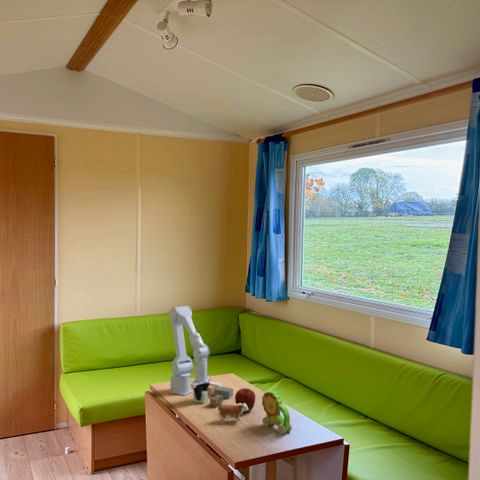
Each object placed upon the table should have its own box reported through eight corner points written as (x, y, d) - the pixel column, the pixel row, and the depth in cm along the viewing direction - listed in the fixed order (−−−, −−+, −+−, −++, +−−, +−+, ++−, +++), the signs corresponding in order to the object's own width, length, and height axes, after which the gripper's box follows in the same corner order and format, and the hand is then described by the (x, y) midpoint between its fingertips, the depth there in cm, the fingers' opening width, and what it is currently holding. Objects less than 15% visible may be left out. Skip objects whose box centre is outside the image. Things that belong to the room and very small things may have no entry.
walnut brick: (216, 408, 234) (216, 399, 234) (210, 406, 235) (210, 398, 235) (222, 404, 239) (222, 395, 239) (216, 402, 241) (216, 394, 241)
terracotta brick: (200, 393, 253) (200, 386, 252) (204, 391, 256) (204, 384, 255) (210, 396, 250) (210, 388, 250) (214, 394, 253) (214, 386, 253)
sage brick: (193, 401, 241) (193, 391, 241) (197, 399, 244) (197, 389, 244) (203, 403, 239) (204, 393, 238) (207, 401, 242) (207, 391, 241)
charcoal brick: (214, 397, 248) (214, 389, 248) (218, 394, 253) (218, 386, 253) (228, 399, 245) (229, 391, 245) (232, 396, 250) (233, 388, 250)
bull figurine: (248, 423, 217) (248, 404, 216) (217, 422, 217) (218, 404, 217) (248, 419, 221) (248, 401, 221) (218, 418, 221) (218, 400, 221)
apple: (235, 414, 226) (236, 393, 225) (234, 406, 235) (234, 386, 235) (256, 414, 227) (256, 392, 226) (253, 406, 236) (254, 385, 236)
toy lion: (292, 432, 208) (293, 396, 207) (282, 435, 205) (283, 399, 204) (267, 420, 221) (268, 386, 220) (258, 422, 217) (259, 388, 217)
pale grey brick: (208, 390, 257) (208, 383, 257) (212, 388, 260) (212, 381, 260) (218, 392, 254) (218, 385, 254) (221, 390, 257) (222, 383, 257)
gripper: (199, 376, 233) (199, 404, 233) (215, 368, 245) (215, 395, 246) (187, 374, 236) (187, 402, 237) (203, 366, 249) (203, 393, 249)
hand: (200, 398), depth 241 cm, fingers closed on sage brick, 3 cm apart
